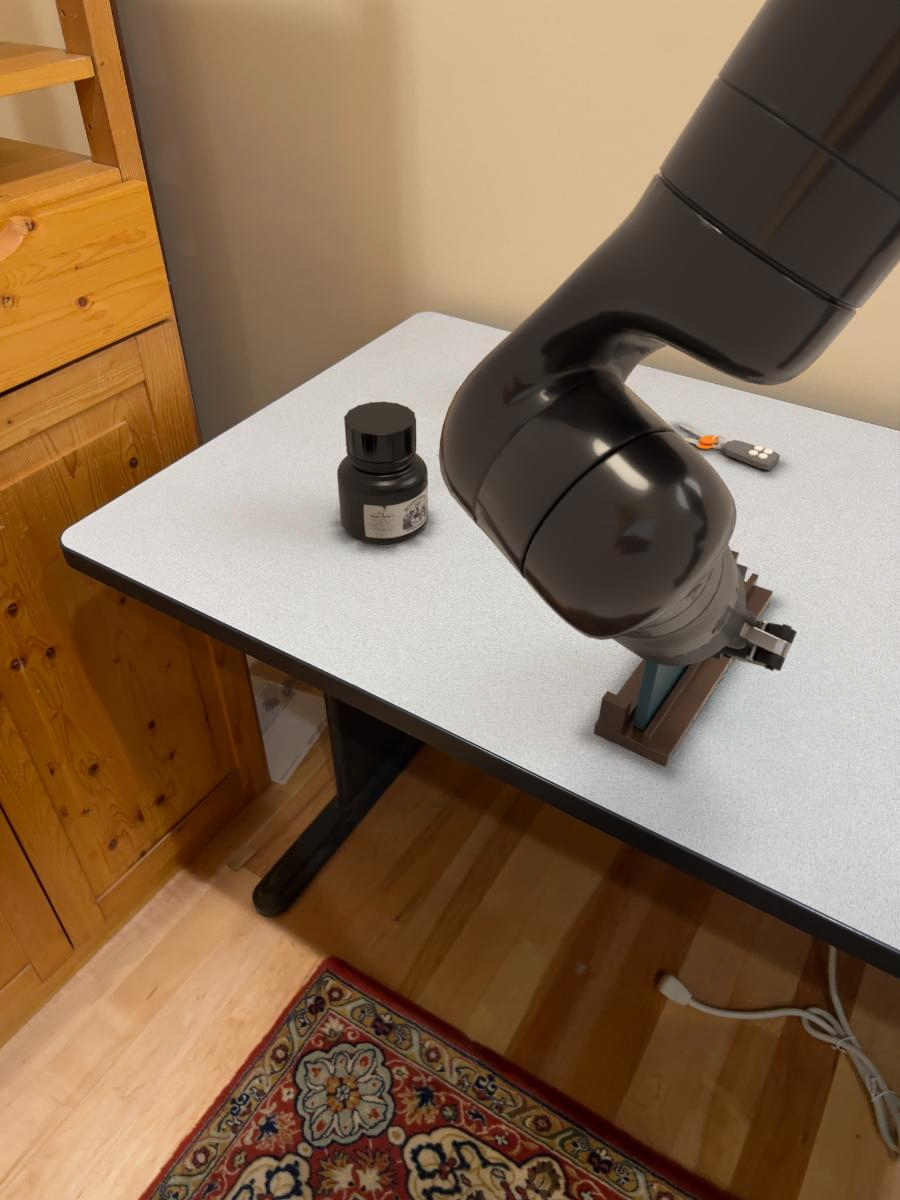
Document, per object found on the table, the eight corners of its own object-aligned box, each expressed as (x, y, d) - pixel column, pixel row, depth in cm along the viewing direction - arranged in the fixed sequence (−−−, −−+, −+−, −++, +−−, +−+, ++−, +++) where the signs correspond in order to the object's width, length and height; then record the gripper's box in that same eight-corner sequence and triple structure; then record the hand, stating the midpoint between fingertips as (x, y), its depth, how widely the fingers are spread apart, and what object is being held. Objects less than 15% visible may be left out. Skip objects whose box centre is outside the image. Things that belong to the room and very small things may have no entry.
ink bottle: (380, 561, 86) (375, 451, 78) (320, 526, 90) (310, 420, 83) (448, 520, 91) (449, 415, 84) (388, 489, 96) (384, 387, 88)
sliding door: (736, 657, 73) (772, 531, 65) (680, 747, 66) (713, 616, 58) (692, 639, 75) (722, 514, 67) (632, 725, 67) (658, 595, 59)
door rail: (770, 601, 81) (780, 566, 79) (665, 767, 66) (674, 730, 63) (708, 578, 84) (716, 544, 81) (593, 733, 68) (599, 697, 66)
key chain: (781, 461, 101) (784, 449, 100) (767, 473, 99) (770, 462, 98) (680, 426, 108) (682, 415, 107) (665, 437, 106) (667, 426, 105)
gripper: (821, 559, 42) (823, 619, 58) (575, 478, 48) (638, 553, 64) (759, 703, 42) (778, 724, 58) (521, 604, 48) (597, 648, 64)
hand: (705, 634), depth 61 cm, fingers closed
